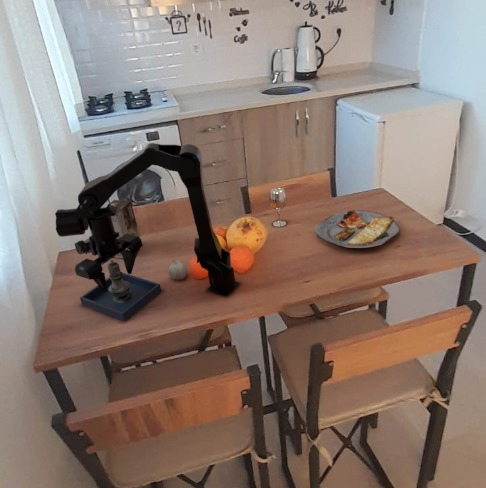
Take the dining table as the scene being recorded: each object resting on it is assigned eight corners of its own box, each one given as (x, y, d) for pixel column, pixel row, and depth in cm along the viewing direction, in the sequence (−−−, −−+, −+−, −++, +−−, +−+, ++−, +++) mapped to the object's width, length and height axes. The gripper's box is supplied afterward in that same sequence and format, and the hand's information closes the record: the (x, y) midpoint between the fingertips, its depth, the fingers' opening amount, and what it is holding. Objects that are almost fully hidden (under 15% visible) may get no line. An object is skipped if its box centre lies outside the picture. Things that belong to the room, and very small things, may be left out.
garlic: (167, 274, 137) (164, 259, 134) (185, 269, 138) (182, 254, 136) (172, 284, 132) (169, 269, 129) (191, 279, 133) (188, 264, 131)
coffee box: (125, 243, 156) (113, 199, 148) (142, 244, 155) (131, 199, 147) (111, 257, 149) (98, 212, 141) (129, 258, 147) (117, 212, 139)
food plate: (347, 210, 161) (347, 200, 159) (411, 227, 146) (412, 217, 144) (302, 239, 146) (302, 229, 145) (368, 262, 131) (368, 251, 130)
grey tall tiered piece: (127, 304, 125) (117, 266, 119) (107, 303, 127) (96, 266, 121) (136, 291, 130) (126, 254, 124) (117, 290, 132) (106, 254, 126)
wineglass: (269, 221, 160) (267, 188, 154) (286, 218, 160) (284, 186, 154) (272, 228, 155) (269, 195, 149) (289, 226, 155) (287, 192, 149)
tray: (161, 291, 130) (160, 284, 128) (124, 321, 120) (122, 313, 118) (120, 278, 138) (118, 271, 137) (82, 305, 128) (79, 297, 127)
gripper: (108, 211, 129) (121, 259, 137) (52, 242, 116) (70, 293, 124) (137, 217, 123) (149, 267, 131) (82, 251, 110) (99, 304, 118)
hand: (117, 282), depth 126 cm, fingers open, 9 cm apart
